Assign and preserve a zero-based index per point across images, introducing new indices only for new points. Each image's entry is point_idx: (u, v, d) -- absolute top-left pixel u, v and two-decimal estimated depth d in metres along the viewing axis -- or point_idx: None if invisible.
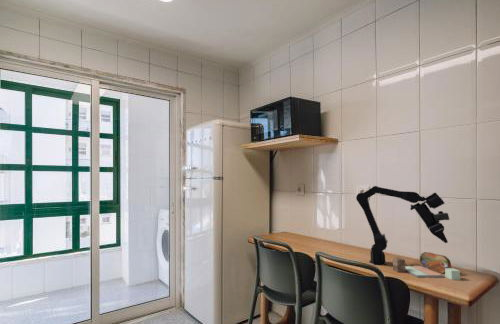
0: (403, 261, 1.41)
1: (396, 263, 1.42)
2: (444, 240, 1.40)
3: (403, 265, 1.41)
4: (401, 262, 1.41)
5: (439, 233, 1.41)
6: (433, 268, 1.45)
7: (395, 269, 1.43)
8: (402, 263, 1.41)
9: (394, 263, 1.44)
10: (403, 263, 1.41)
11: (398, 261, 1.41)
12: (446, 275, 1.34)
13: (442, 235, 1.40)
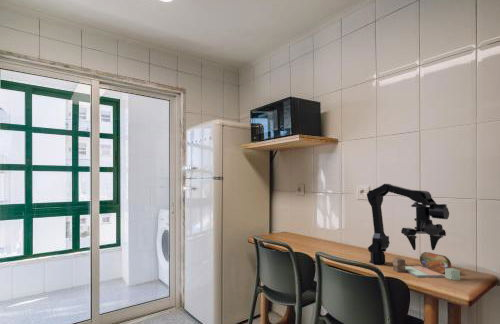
0: (403, 261, 1.41)
1: (396, 263, 1.42)
2: (412, 246, 1.38)
3: (403, 265, 1.41)
4: (401, 262, 1.41)
5: (411, 238, 1.38)
6: (433, 268, 1.45)
7: (395, 269, 1.43)
8: (402, 263, 1.41)
9: (394, 263, 1.44)
10: (403, 263, 1.41)
11: (398, 261, 1.41)
12: (446, 275, 1.34)
13: (412, 241, 1.37)
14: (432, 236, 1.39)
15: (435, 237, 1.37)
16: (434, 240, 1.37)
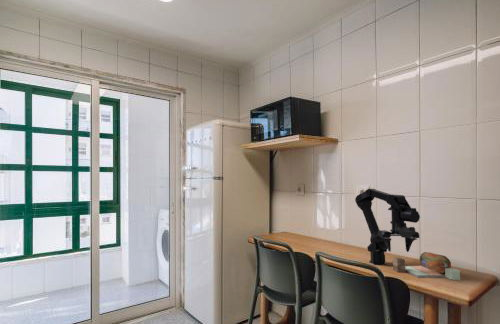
0: (403, 261, 1.41)
1: (396, 263, 1.42)
2: (388, 248, 1.44)
3: (403, 265, 1.41)
4: (401, 262, 1.41)
5: (386, 240, 1.44)
6: (433, 268, 1.45)
7: (395, 269, 1.43)
8: (402, 263, 1.41)
9: (394, 263, 1.44)
10: (403, 263, 1.41)
11: (398, 261, 1.41)
12: (446, 275, 1.34)
13: (387, 243, 1.43)
14: (407, 238, 1.45)
15: (409, 239, 1.43)
16: (408, 242, 1.44)
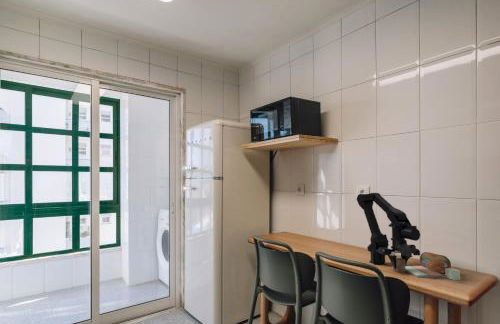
0: (403, 261, 1.41)
1: (396, 263, 1.42)
2: (393, 265, 1.43)
3: (403, 265, 1.41)
4: (401, 262, 1.41)
5: (392, 257, 1.44)
6: (433, 268, 1.45)
7: (395, 269, 1.43)
8: (402, 263, 1.41)
9: None
10: (403, 263, 1.41)
11: (398, 261, 1.41)
12: (446, 275, 1.34)
13: (392, 260, 1.43)
14: (403, 255, 1.44)
15: (405, 256, 1.42)
16: None
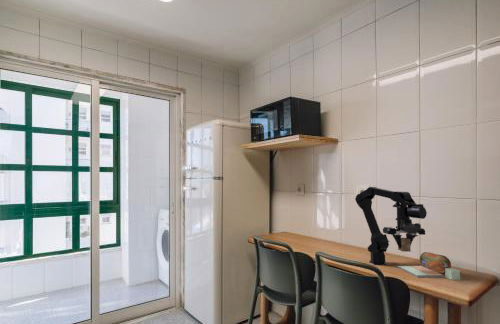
0: (408, 240, 1.42)
1: (401, 242, 1.42)
2: (398, 245, 1.43)
3: (408, 244, 1.41)
4: (406, 241, 1.41)
5: (397, 237, 1.44)
6: (433, 268, 1.45)
7: None
8: (407, 242, 1.41)
9: None
10: (408, 242, 1.41)
11: (403, 240, 1.41)
12: (446, 275, 1.34)
13: (397, 240, 1.43)
14: (408, 235, 1.45)
15: (410, 236, 1.42)
16: None
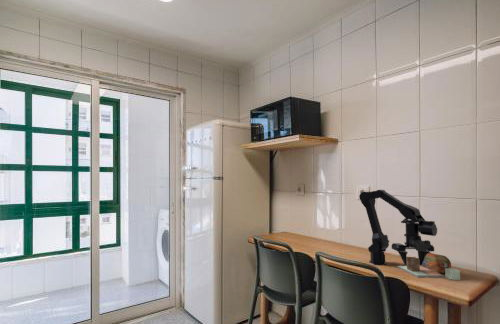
0: (417, 260, 1.40)
1: (410, 262, 1.41)
2: (403, 261, 1.42)
3: (417, 264, 1.40)
4: (416, 261, 1.40)
5: (402, 253, 1.42)
6: (433, 268, 1.45)
7: (409, 268, 1.42)
8: (416, 262, 1.40)
9: (408, 262, 1.43)
10: (417, 262, 1.40)
11: (412, 260, 1.40)
12: (446, 275, 1.34)
13: (403, 257, 1.42)
14: (420, 251, 1.44)
15: (422, 252, 1.41)
16: (422, 255, 1.42)
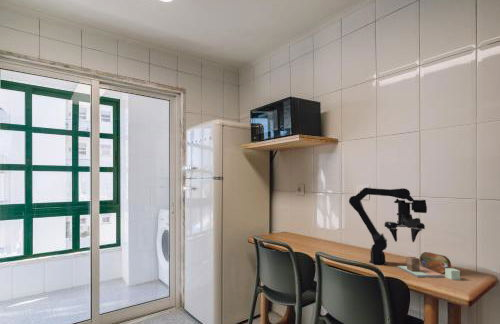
0: (417, 260, 1.40)
1: (410, 262, 1.41)
2: (394, 238, 1.52)
3: (417, 264, 1.40)
4: (416, 261, 1.40)
5: (393, 231, 1.53)
6: (433, 268, 1.45)
7: (409, 268, 1.42)
8: (416, 262, 1.40)
9: (408, 262, 1.43)
10: (417, 262, 1.40)
11: (412, 260, 1.40)
12: (446, 275, 1.34)
13: (393, 234, 1.52)
14: (413, 229, 1.53)
15: (415, 230, 1.51)
16: (414, 233, 1.52)
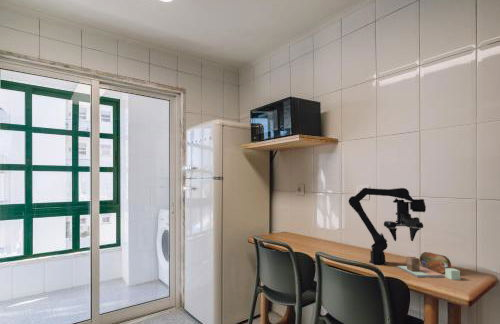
0: (417, 260, 1.40)
1: (410, 262, 1.41)
2: (393, 238, 1.53)
3: (417, 264, 1.40)
4: (416, 261, 1.40)
5: (392, 230, 1.54)
6: (433, 268, 1.45)
7: (409, 268, 1.42)
8: (416, 262, 1.40)
9: (408, 262, 1.43)
10: (417, 262, 1.40)
11: (412, 260, 1.40)
12: (446, 275, 1.34)
13: (393, 233, 1.53)
14: (411, 228, 1.55)
15: (414, 229, 1.53)
16: (413, 232, 1.53)
